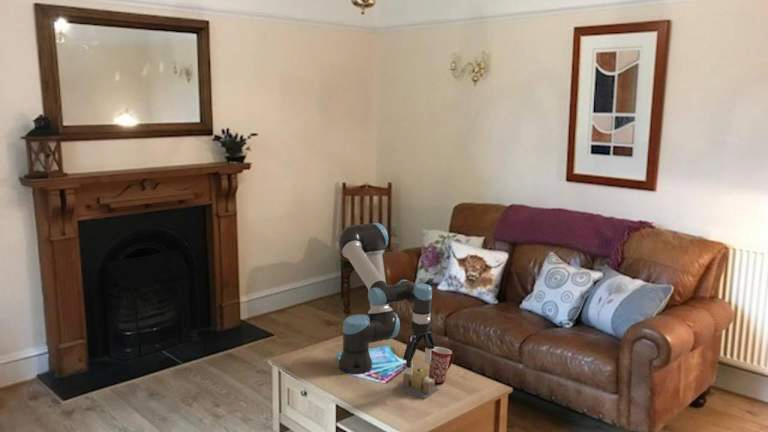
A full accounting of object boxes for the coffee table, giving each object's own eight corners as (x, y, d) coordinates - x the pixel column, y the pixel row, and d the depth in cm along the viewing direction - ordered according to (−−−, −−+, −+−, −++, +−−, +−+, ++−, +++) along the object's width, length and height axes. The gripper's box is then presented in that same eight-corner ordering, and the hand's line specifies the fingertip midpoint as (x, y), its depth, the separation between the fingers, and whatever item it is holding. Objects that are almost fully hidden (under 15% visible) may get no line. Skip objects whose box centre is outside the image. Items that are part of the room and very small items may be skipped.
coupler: (411, 388, 269) (411, 369, 267) (417, 384, 272) (417, 366, 270) (420, 391, 266) (421, 373, 264) (426, 387, 269) (427, 369, 268)
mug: (436, 384, 271) (441, 354, 270) (422, 377, 277) (427, 347, 276) (456, 381, 279) (461, 352, 278) (442, 374, 286) (447, 345, 285)
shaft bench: (399, 389, 269) (399, 374, 268) (412, 381, 277) (413, 366, 276) (424, 399, 262) (425, 383, 260) (438, 390, 269) (438, 375, 268)
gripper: (411, 332, 251) (408, 381, 256) (445, 314, 270) (442, 360, 275) (395, 327, 255) (393, 375, 260) (430, 310, 275) (427, 355, 280)
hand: (418, 368), depth 268 cm, fingers open, 13 cm apart
